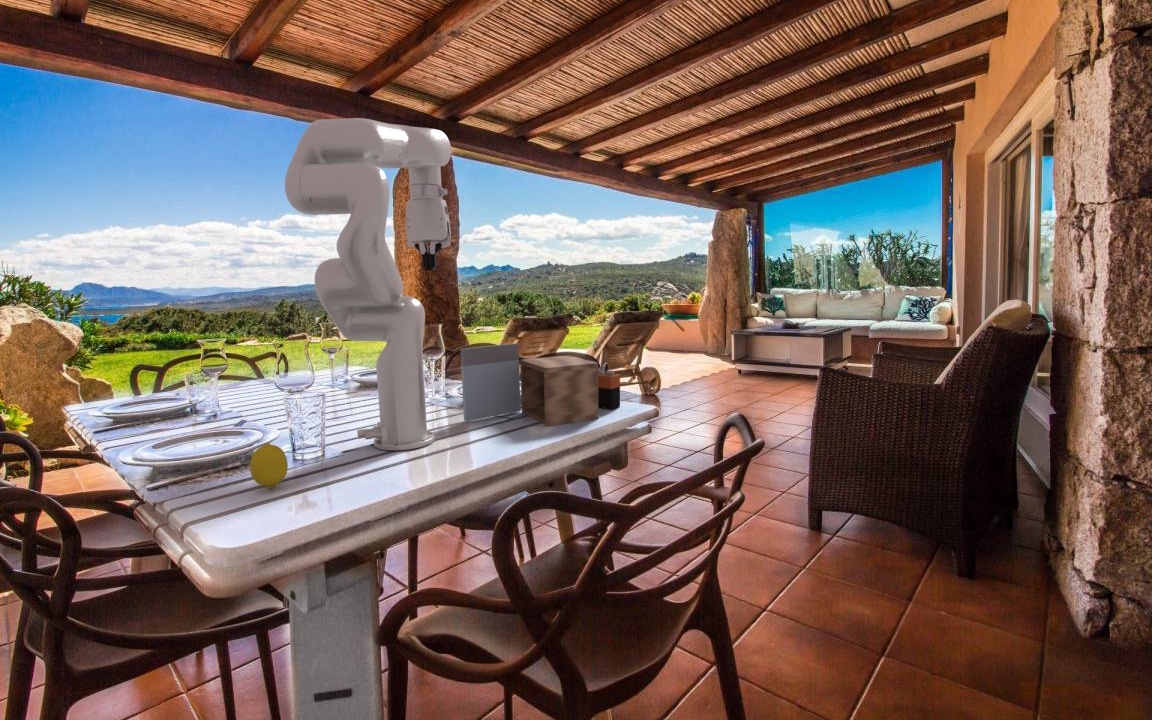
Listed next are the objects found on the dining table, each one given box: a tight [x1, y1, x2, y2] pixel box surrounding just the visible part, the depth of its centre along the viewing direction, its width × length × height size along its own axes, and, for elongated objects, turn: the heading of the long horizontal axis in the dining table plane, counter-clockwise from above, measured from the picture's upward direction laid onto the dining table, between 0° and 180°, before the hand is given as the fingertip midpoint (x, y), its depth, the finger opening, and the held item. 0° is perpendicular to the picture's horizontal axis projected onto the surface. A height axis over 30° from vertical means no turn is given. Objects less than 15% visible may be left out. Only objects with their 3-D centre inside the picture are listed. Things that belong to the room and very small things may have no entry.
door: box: [459, 342, 522, 422], centre depth 138 cm, size 1×16×18 cm, turn 129°
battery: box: [598, 369, 621, 410], centre depth 148 cm, size 4×7×10 cm, turn 51°
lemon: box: [249, 442, 289, 490], centre depth 93 cm, size 6×6×8 cm
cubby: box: [519, 355, 600, 427], centre depth 139 cm, size 14×16×14 cm
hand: (430, 270), depth 137 cm, fingers closed
